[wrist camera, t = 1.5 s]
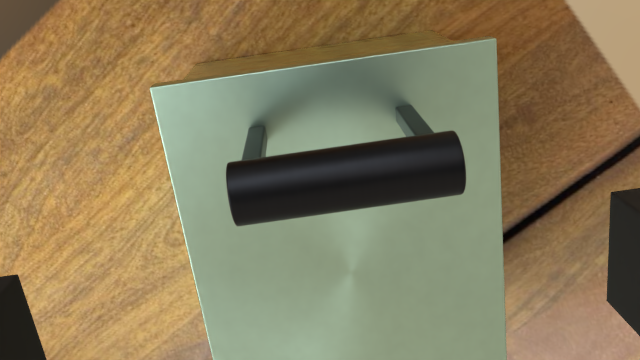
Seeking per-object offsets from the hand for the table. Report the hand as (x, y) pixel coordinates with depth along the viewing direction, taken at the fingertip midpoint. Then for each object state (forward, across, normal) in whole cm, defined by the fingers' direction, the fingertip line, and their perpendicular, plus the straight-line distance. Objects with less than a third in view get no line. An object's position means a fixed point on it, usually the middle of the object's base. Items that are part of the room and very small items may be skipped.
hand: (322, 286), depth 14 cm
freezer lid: (+13, +1, -6) cm, 14 cm away
